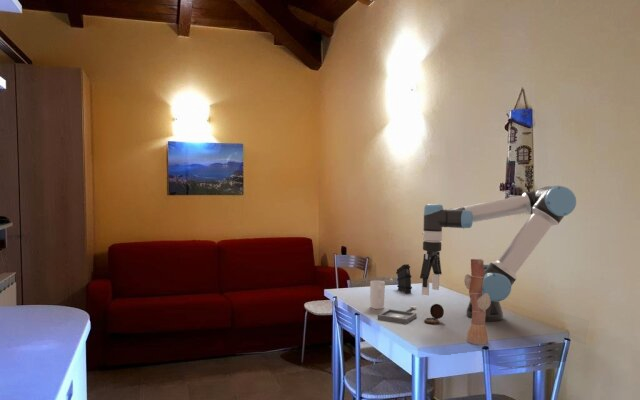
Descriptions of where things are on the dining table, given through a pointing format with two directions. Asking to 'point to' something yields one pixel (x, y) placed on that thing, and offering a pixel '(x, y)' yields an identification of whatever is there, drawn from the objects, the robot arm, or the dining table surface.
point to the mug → (377, 294)
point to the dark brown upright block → (404, 278)
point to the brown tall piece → (477, 303)
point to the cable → (411, 308)
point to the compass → (435, 314)
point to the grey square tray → (397, 316)
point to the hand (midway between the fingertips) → (430, 292)
